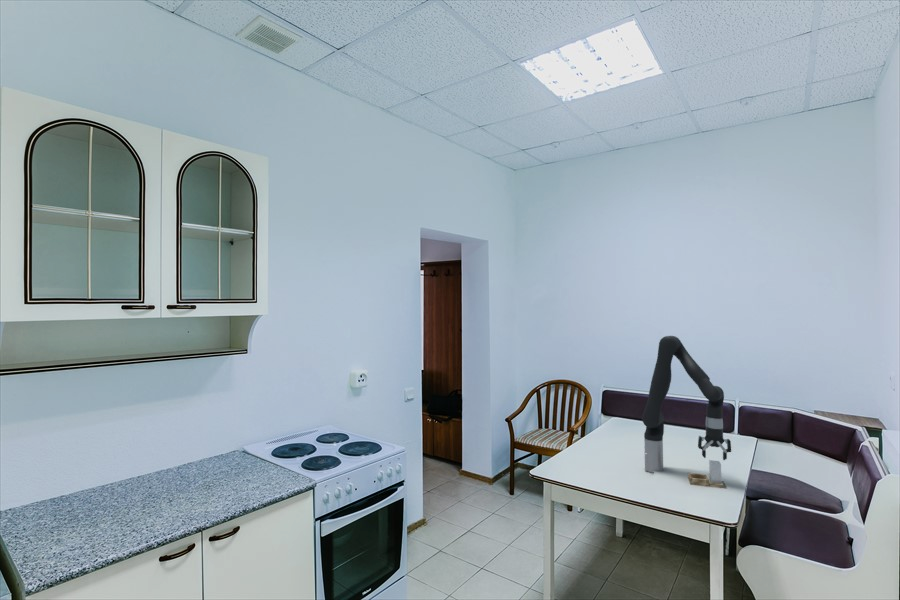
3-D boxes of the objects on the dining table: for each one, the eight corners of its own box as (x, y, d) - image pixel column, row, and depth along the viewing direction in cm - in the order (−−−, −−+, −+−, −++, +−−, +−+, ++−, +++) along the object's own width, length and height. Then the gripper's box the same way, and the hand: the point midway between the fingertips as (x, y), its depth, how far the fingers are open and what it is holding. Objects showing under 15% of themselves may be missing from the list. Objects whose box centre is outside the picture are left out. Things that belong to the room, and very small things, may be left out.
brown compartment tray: (690, 486, 222) (690, 478, 222) (687, 478, 232) (687, 470, 232) (727, 490, 216) (727, 482, 216) (723, 482, 226) (722, 474, 226)
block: (711, 483, 222) (710, 462, 223) (709, 479, 227) (709, 460, 227) (721, 484, 221) (720, 463, 221) (719, 481, 225) (719, 461, 225)
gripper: (699, 426, 224) (699, 459, 223) (732, 429, 218) (732, 463, 218) (697, 423, 231) (697, 454, 230) (729, 426, 225) (729, 458, 225)
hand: (714, 458), depth 224 cm, fingers open, 8 cm apart
